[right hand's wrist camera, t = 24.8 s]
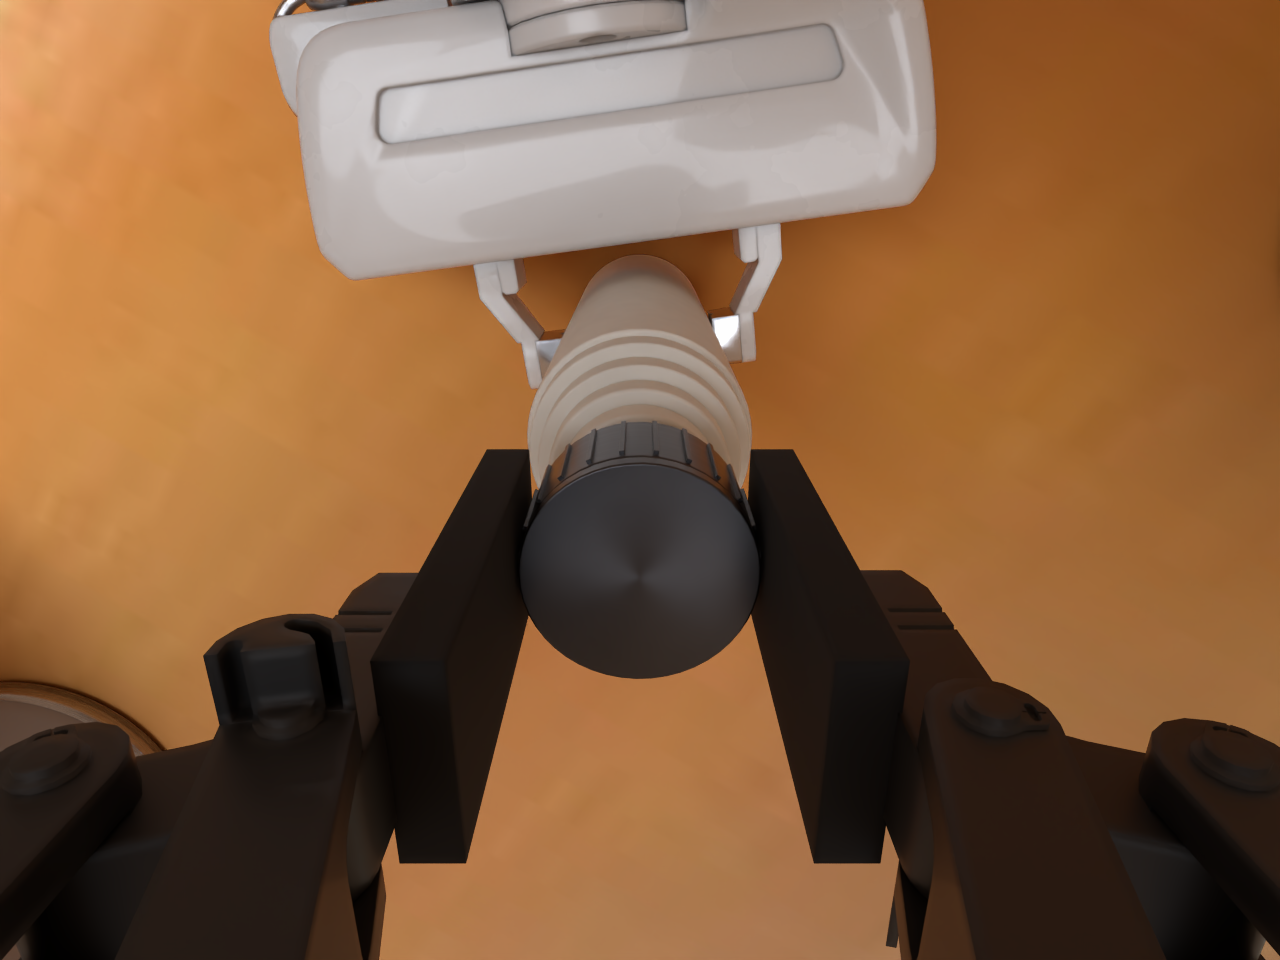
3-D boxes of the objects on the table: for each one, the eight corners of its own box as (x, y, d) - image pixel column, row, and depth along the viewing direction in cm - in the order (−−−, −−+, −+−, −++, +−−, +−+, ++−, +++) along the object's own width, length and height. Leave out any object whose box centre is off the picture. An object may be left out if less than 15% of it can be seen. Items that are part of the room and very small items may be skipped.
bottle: (676, 390, 36) (733, 722, 14) (564, 355, 35) (445, 645, 14) (717, 277, 34) (852, 459, 12) (599, 237, 34) (525, 356, 12)
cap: (635, 651, 15) (634, 722, 13) (486, 517, 14) (461, 572, 12) (791, 525, 14) (816, 582, 12) (644, 371, 13) (644, 406, 11)
